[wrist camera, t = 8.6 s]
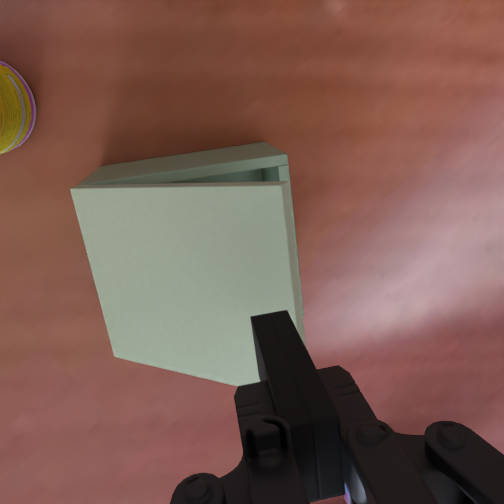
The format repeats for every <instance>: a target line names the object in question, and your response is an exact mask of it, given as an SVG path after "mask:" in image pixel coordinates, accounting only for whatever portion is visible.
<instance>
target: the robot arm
mask: <svg viewBox="0 0 504 504" xmlns="http://www.w3.org/2000/svg"><path fill="white" fill-rule="evenodd" d="M250 318H251V325H252V332H253V339H254V346H255V353H256V360H257V367H258V374H259V378H260V382H256V383H251V384H246V385H241V386H238V388H237V391H236V393H235V395H234V399H235V405H236V411H237V417H238V423H239V429H240V435H241V441H242V447H243V456H242V460H241V461H240V463H239V465H238V466H237V467H236V468H235V469H234V470H233V471H231V472H230V473H228V474H227V475H225V476H223V477H221V478H218V477H216V476H215V475H213V474H208V473H199V474H193V475H191V476H189V477H187V478H185V479H184V480H183V481H182V482H181V483H180V484H179V485H178V486H177V487H176V489H175V491H174V493H173V495H172V499H171V502H170V504H309V502H314V501H318V500H323V499H327V498H332V497H336V496H341V495H346V494H345V483H346V486H347V488H348V490H349V493H350V500H351V504H504V455H503V454H502V453H501V452H499V451H498V450H497V449H495V448H494V447H493V446H492V445H490V444H489V443H488V442H486V441H485V440H484V439H482V438H481V437H480V436H479V435H477V434H476V433H475V432H473V431H472V430H471V429H469V428H468V427H466V426H464V425H462V424H460V423H456V422H453V421H439V422H435V423H432V424H431V425H430V426H428V427H427V429H426V431H425V435H406V434H400V433H396V432H394V431H393V430H392V429H391V428H390V427H389V426H388V425H387V424H386V423H384V422H382V421H380V420H378V419H377V418H376V416H375V414H374V413H373V411H372V409H371V408H370V406H369V404H368V403H367V401H366V399H365V398H364V396H363V394H362V393H361V392H360V390H359V388H358V386H357V385H356V384H355V381H354V380H353V378H352V376H351V375H350V373H349V372H348V371H346V370H345V369H343V368H342V367H340V366H339V365H338V366H333V367H328V368H323V369H317V370H316V368H315V366H314V364H313V361H312V359H311V357H310V355H309V353H308V351H307V349H306V347H305V345H304V343H303V341H302V339H301V337H300V335H299V333H298V331H297V329H296V327H295V325H294V323H293V321H292V319H291V317H290V315H289V313H288V311H287V310H283V311H277V312H272V313H266V314H260V315H255V316H250Z"/></svg>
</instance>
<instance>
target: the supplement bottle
mask: <svg viewBox="0 0 504 504" xmlns="http://www.w3.org/2000/svg"><path fill="white" fill-rule="evenodd" d="M35 120H36V105H35V100H34V97H33V94H32V92H31V90H30V88H29V86H28V84H27V83H26V81H25V80H24V78H23V77H22V76H21V75H20V74H19V73H18V72H17V71H16V70H15V69H14V68H12V67H11V66H10V65H8V64H7V63H5V62H3V61H1V60H0V154H2V153H5V152H8V151H11V150H13V149H15V148H17V147H19V146H20V145H21V144H22V143H24V142H25V141H26V139H27V138H28V137H29V135H30V134H31V132H32V130H33V127H34V124H35Z"/></svg>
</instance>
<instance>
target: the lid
mask: <svg viewBox="0 0 504 504" xmlns="http://www.w3.org/2000/svg"><path fill="white" fill-rule="evenodd" d="M70 191H71V195H72V199H73V202H74V206H75V210H76V214H77V217H78V221H79V225H80V229H81V233H82V236H83V240H84V244H85V248H86V251H87V255H88V259H89V263H90V267H91V270H92V274H93V278H94V282H95V285H96V289H97V293H98V297H99V301H100V304H101V308H102V312H103V316H104V319H105V323H106V327H107V331H108V335H109V338H110V342H111V346H112V350H113V353H114V357H117V358H121V359H126V360H130V361H134V362H138V363H142V364H147V365H151V366H155V367H159V368H163V369H167V370H172V371H176V372H180V373H184V374H188V375H193V376H197V377H201V378H205V379H209V380H213V381H218V382H222V383H226V384H230V385H234V386H241V385H246V384H251V383H256V382H260V378H259V374H258V367H257V360H256V353H255V346H254V339H253V332H252V325H251V318H250V316H255V315H260V314H266V313H272V312H277V311H283V310H287V311H288V313H289V315H290V317H291V319H292V321H293V323H294V325H295V327H296V329H297V331H298V333H299V335H300V337H301V339H302V341H303V343H304V345H305V347H306V344H305V335H304V325H303V315H302V306H301V296H300V286H299V276H298V267H297V257H296V247H295V238H294V228H293V218H292V209H291V199H290V189H289V182H288V181H267V182H217V183H167V184H118V185H79V186H76V187H73V188H70Z"/></svg>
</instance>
